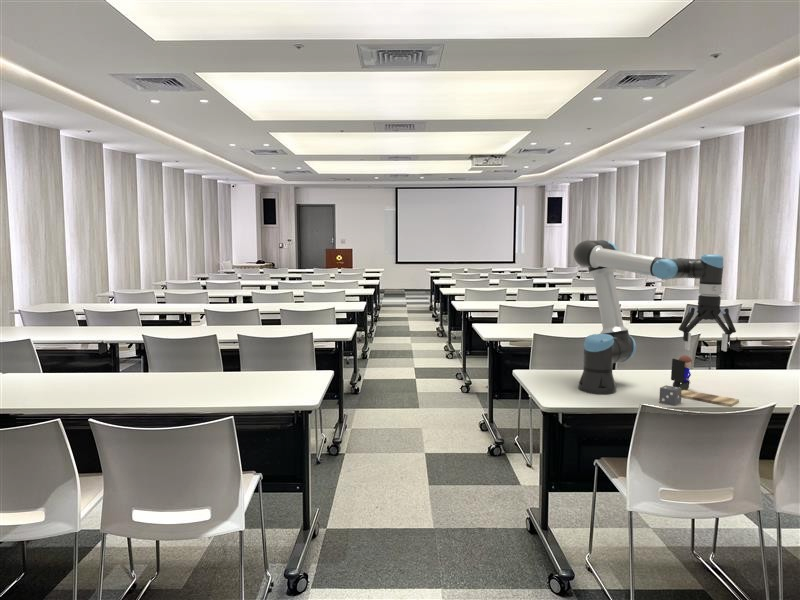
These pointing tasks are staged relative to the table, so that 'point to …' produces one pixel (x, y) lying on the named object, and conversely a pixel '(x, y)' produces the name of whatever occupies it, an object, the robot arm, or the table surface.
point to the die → (670, 395)
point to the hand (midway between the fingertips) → (705, 350)
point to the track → (709, 398)
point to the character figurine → (681, 372)
